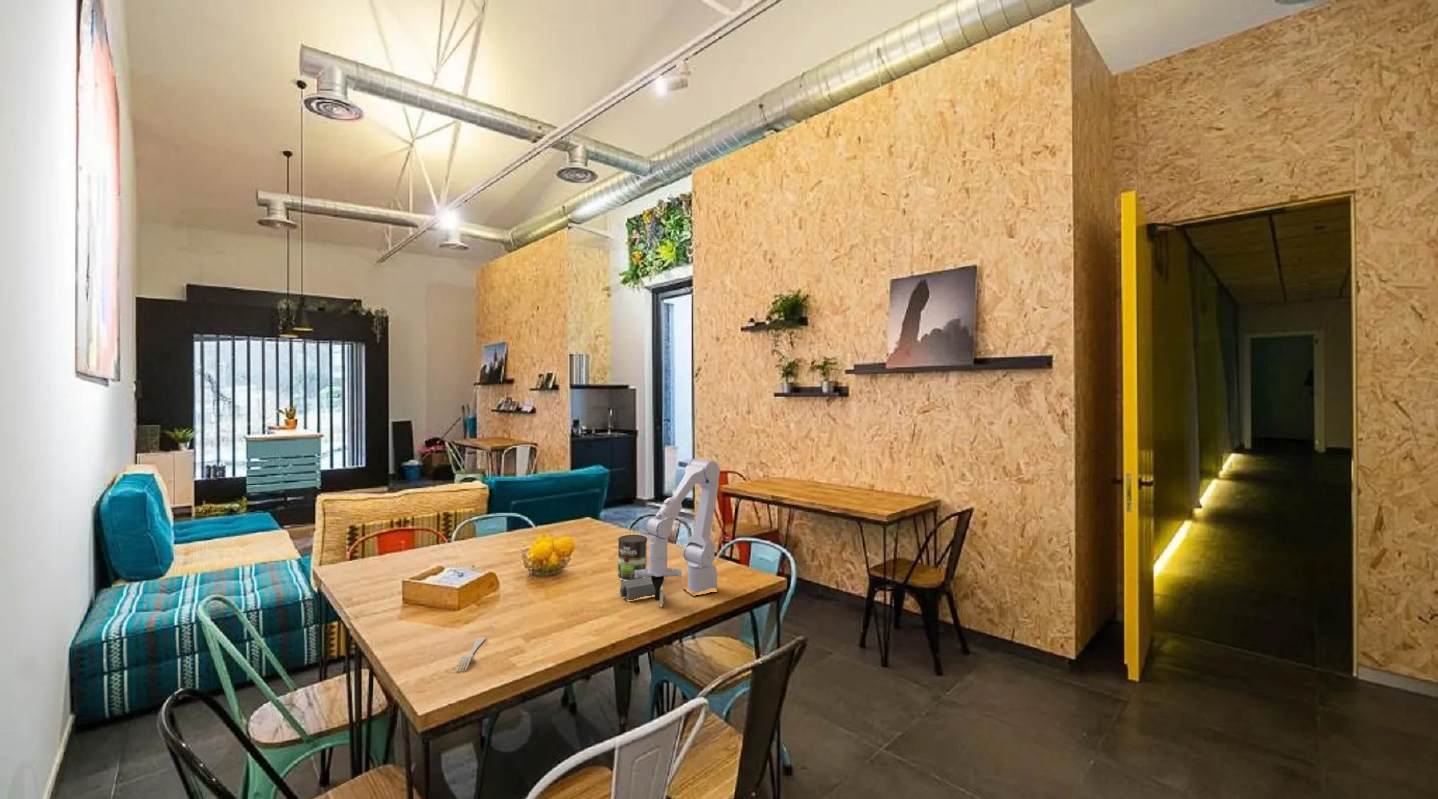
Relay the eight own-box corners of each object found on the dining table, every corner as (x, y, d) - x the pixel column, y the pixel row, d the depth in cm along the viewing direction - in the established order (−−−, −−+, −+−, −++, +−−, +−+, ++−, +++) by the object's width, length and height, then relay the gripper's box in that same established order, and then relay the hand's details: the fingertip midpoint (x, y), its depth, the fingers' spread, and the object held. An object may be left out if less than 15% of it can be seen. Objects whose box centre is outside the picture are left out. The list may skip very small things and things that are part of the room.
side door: (658, 595, 193) (658, 582, 193) (663, 595, 193) (663, 582, 193) (659, 607, 183) (659, 593, 183) (664, 607, 183) (664, 593, 183)
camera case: (649, 590, 199) (649, 576, 199) (657, 596, 193) (657, 583, 193) (617, 595, 193) (617, 581, 193) (625, 602, 187) (625, 588, 187)
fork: (487, 646, 161) (488, 636, 161) (466, 675, 141) (466, 663, 141) (476, 647, 161) (477, 636, 161) (453, 676, 140) (454, 664, 140)
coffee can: (639, 583, 205) (639, 543, 205) (612, 580, 208) (613, 540, 208) (651, 574, 215) (651, 535, 215) (625, 571, 218) (626, 533, 218)
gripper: (634, 560, 180) (634, 605, 180) (682, 559, 182) (681, 603, 182) (634, 554, 187) (634, 596, 187) (680, 553, 189) (679, 595, 189)
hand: (657, 599), depth 185 cm, fingers closed, pressing on side door
